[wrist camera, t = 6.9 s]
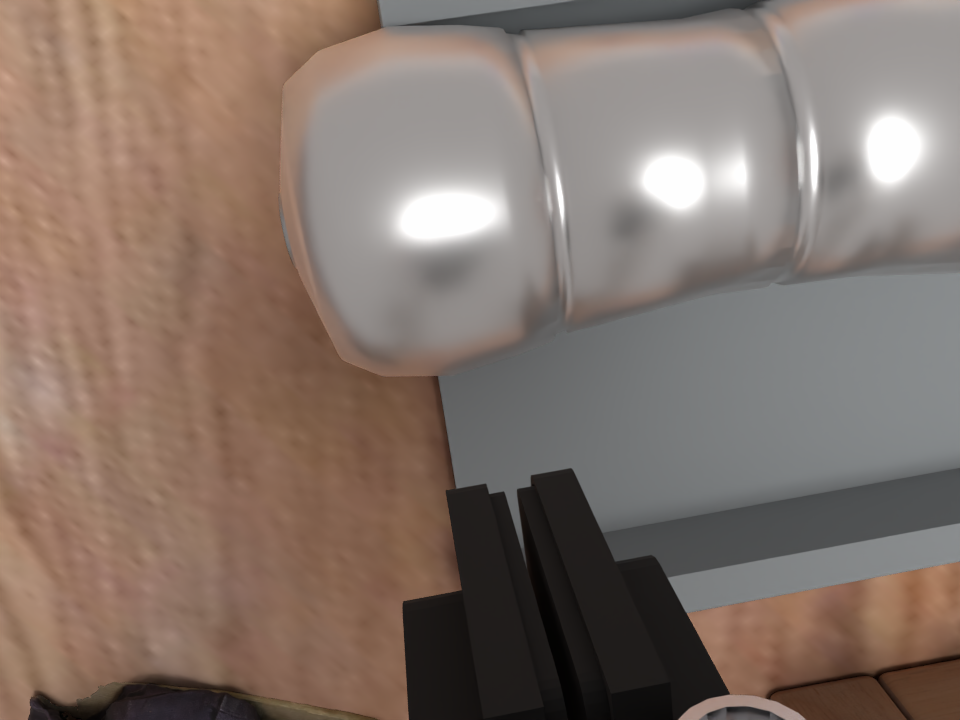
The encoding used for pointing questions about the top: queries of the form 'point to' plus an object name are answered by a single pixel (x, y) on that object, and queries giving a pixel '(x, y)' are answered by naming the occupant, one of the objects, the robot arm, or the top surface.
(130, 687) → the bread roll
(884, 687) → the toy block structure
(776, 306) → the tray
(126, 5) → the top surface
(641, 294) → the plastic bottle
